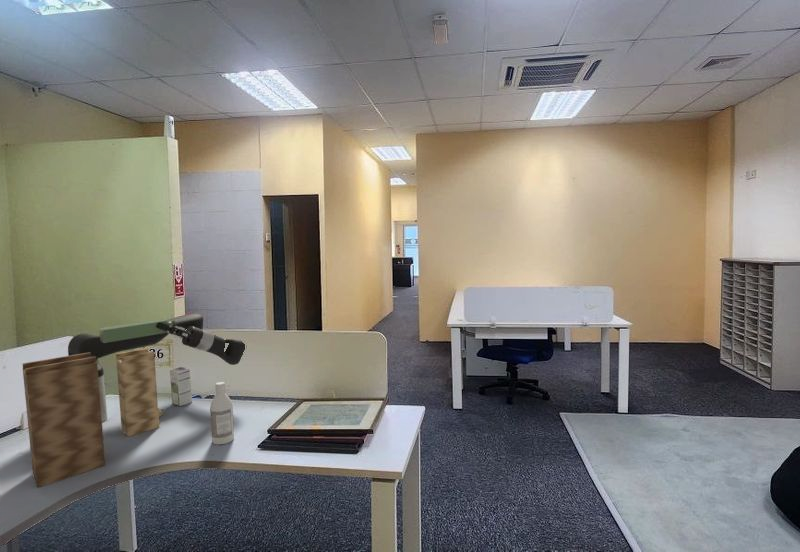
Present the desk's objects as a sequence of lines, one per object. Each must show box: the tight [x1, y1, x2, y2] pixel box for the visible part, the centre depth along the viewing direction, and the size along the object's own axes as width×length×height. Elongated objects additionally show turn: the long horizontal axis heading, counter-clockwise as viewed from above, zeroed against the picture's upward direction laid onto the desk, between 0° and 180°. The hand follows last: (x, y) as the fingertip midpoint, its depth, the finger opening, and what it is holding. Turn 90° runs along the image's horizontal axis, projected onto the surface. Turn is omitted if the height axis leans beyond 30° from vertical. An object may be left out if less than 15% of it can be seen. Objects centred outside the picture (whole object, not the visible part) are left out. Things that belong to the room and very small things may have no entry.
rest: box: [115, 347, 160, 437], centre depth 156 cm, size 10×8×28 cm
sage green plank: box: [99, 318, 176, 343], centre depth 155 cm, size 23×4×4 cm, turn 136°
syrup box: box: [169, 366, 193, 407], centre depth 180 cm, size 6×6×14 cm
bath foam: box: [209, 381, 235, 446], centre depth 146 cm, size 7×7×20 cm
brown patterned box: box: [22, 352, 106, 488], centre depth 128 cm, size 16×10×34 cm, turn 136°
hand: (155, 323), depth 158 cm, fingers closed on sage green plank, 4 cm apart
